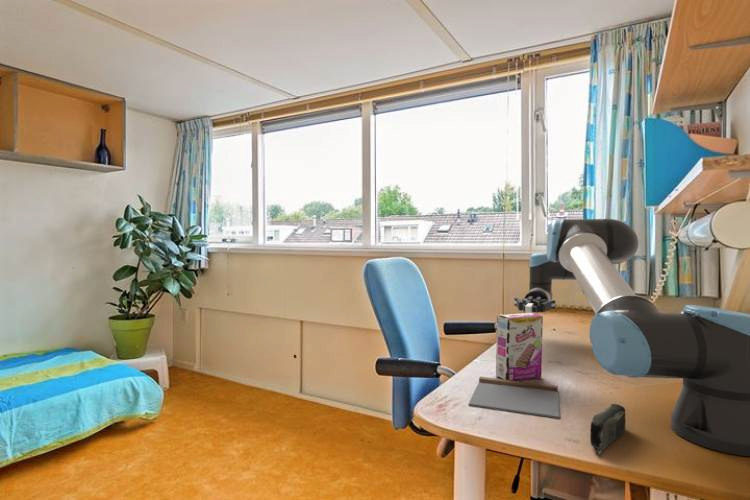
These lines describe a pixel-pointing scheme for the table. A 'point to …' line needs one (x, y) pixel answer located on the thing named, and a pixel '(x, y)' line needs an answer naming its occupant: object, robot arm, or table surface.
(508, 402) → the mat
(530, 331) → the candy bar box
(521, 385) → the strip
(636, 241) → the robot arm
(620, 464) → the table surface
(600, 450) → the mobile phone
